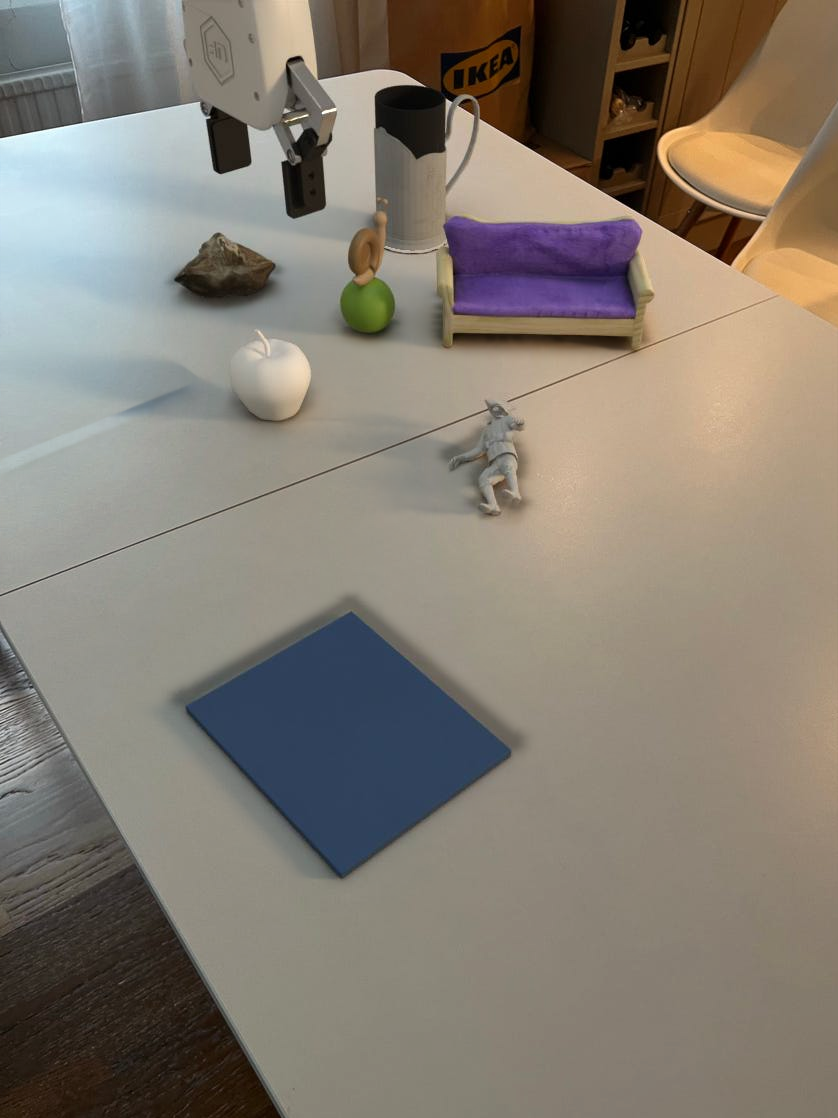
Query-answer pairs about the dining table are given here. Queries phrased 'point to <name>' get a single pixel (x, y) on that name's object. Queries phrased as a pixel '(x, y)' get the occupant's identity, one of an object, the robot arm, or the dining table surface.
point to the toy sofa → (543, 277)
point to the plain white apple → (270, 377)
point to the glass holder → (415, 163)
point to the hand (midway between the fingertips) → (268, 190)
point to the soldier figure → (497, 454)
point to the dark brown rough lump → (225, 269)
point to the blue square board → (347, 740)
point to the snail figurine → (368, 280)
